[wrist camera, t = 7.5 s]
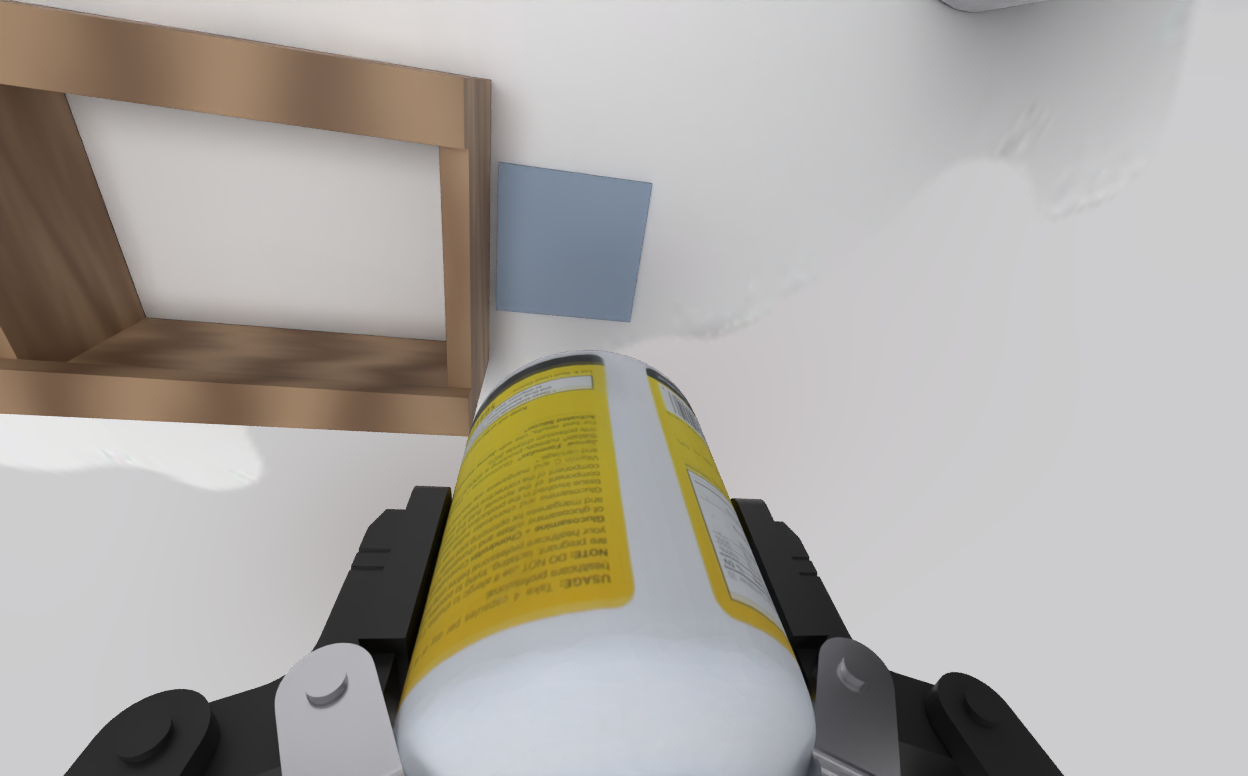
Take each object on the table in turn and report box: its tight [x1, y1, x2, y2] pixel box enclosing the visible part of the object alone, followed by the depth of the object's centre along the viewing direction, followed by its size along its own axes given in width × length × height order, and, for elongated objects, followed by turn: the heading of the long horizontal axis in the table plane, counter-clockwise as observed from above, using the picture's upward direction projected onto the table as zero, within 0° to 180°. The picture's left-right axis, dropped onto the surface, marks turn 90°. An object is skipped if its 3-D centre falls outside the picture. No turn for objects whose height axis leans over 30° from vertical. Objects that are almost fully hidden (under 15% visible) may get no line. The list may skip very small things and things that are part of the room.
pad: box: [496, 162, 652, 322], centre depth 32 cm, size 9×9×1 cm
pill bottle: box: [393, 350, 816, 776], centre depth 10 cm, size 6×6×12 cm
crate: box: [0, 0, 491, 436], centre depth 25 cm, size 22×17×9 cm
